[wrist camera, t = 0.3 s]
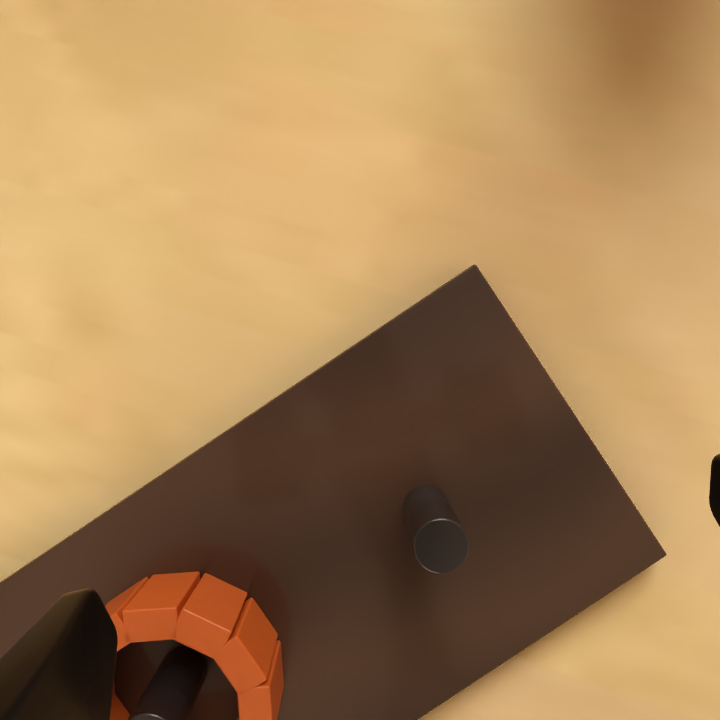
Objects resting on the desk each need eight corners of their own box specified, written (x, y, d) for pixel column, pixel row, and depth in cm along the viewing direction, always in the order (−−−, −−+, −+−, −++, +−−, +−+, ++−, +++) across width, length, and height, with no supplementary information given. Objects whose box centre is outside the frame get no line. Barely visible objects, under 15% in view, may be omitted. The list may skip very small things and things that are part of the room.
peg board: (654, 545, 24) (735, 603, 19) (148, 880, 24) (94, 1024, 19) (470, 266, 23) (502, 248, 18) (-43, 611, 23) (-151, 686, 18)
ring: (321, 695, 23) (316, 750, 20) (158, 802, 23) (128, 874, 20) (209, 533, 22) (187, 564, 19) (45, 643, 22) (-2, 691, 19)
